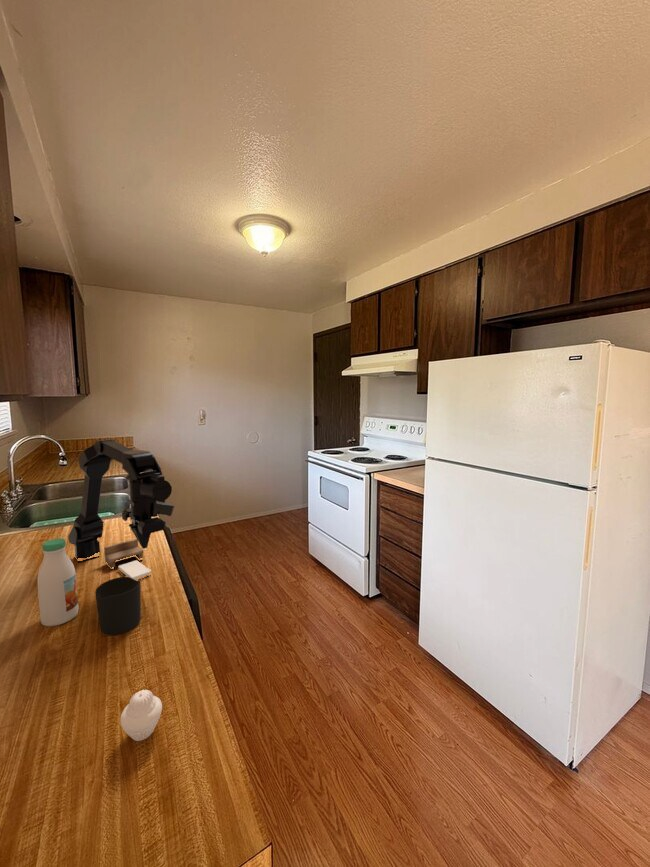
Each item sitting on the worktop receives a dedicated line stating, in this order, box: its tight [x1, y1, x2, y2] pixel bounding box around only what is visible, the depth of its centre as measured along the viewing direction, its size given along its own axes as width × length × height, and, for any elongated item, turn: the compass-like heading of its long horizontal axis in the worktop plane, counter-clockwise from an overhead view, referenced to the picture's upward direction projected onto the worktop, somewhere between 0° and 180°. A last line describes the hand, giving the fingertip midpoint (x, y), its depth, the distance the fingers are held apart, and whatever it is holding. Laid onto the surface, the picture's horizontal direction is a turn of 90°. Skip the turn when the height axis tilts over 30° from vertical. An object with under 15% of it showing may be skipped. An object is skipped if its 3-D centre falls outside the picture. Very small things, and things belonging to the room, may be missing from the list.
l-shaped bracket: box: [103, 538, 144, 568], centre depth 121 cm, size 10×6×6 cm, turn 135°
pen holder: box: [94, 576, 142, 636], centre depth 87 cm, size 9×9×10 cm
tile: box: [117, 559, 153, 580], centre depth 114 cm, size 6×12×2 cm, turn 49°
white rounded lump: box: [120, 689, 163, 742], centre depth 59 cm, size 6×6×7 cm
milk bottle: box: [37, 538, 79, 627], centre depth 90 cm, size 8×8×20 cm
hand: (144, 547), depth 105 cm, fingers closed
